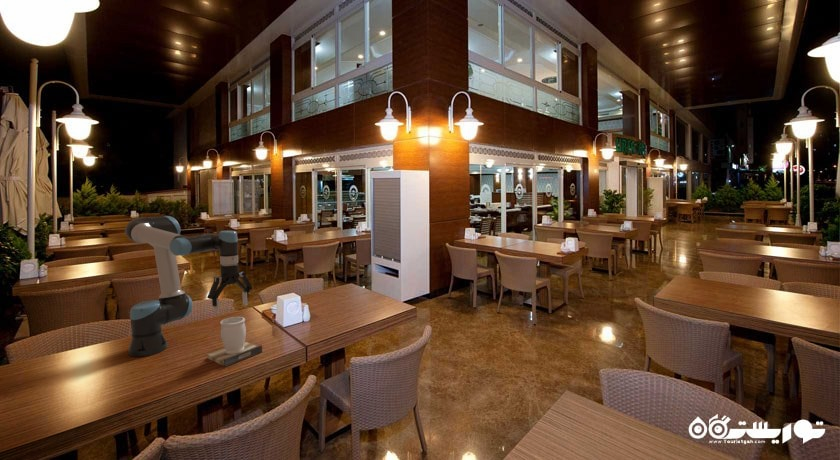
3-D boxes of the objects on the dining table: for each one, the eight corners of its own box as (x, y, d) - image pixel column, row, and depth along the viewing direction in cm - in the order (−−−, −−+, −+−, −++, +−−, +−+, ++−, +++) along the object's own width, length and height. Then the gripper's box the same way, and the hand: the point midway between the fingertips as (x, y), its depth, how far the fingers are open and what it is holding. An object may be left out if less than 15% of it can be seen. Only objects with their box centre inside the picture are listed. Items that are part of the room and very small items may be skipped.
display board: (207, 358, 172) (207, 351, 171) (243, 344, 187) (243, 338, 186) (225, 366, 163) (225, 360, 163) (262, 352, 178) (262, 345, 178)
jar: (251, 347, 179) (250, 317, 178) (236, 356, 169) (235, 324, 168) (232, 345, 181) (230, 315, 180) (216, 354, 171) (214, 323, 170)
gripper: (206, 270, 158) (208, 318, 161) (258, 260, 179) (260, 303, 182) (197, 267, 162) (199, 314, 165) (249, 259, 183) (251, 300, 186)
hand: (231, 308), depth 173 cm, fingers open, 13 cm apart
